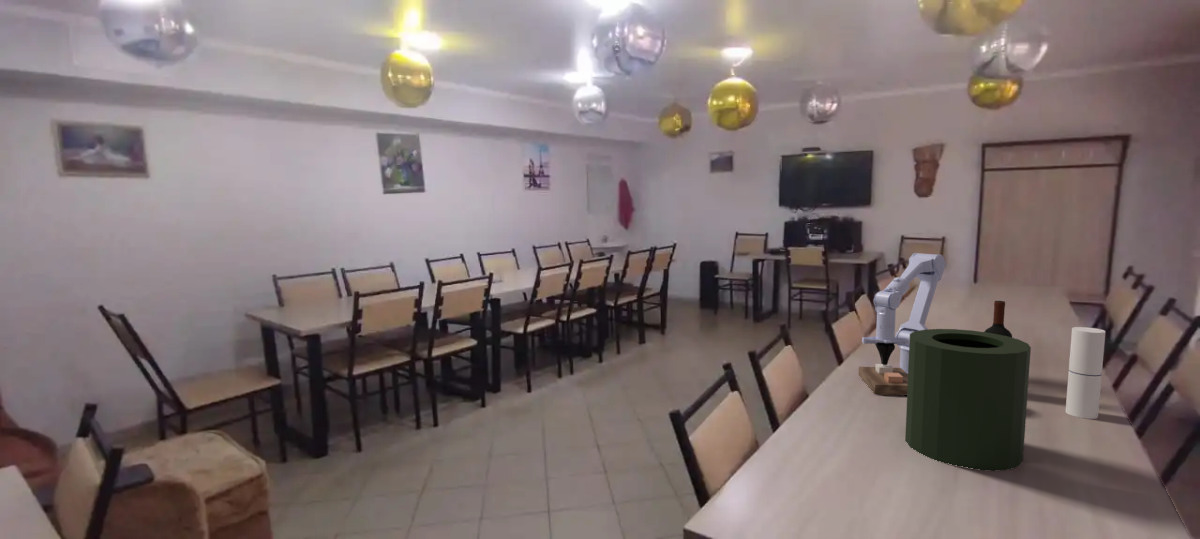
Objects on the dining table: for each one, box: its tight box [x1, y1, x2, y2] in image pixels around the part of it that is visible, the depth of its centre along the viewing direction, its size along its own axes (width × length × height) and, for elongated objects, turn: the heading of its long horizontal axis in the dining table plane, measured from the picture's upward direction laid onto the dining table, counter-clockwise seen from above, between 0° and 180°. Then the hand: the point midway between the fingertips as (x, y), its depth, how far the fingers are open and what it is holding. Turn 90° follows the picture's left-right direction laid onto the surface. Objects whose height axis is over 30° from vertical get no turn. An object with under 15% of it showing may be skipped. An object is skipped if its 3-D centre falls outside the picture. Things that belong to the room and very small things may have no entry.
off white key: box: [874, 363, 894, 374], centre depth 193 cm, size 4×4×3 cm
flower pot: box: [904, 328, 1032, 472], centre depth 139 cm, size 25×25×28 cm
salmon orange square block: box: [884, 372, 903, 383], centre depth 183 cm, size 4×4×3 cm
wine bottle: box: [983, 300, 1013, 338], centre depth 178 cm, size 8×8×30 cm
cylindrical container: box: [1065, 326, 1106, 420], centre depth 159 cm, size 7×7×25 cm
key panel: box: [857, 366, 908, 396], centre depth 188 cm, size 14×20×3 cm
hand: (884, 364), depth 193 cm, fingers closed
